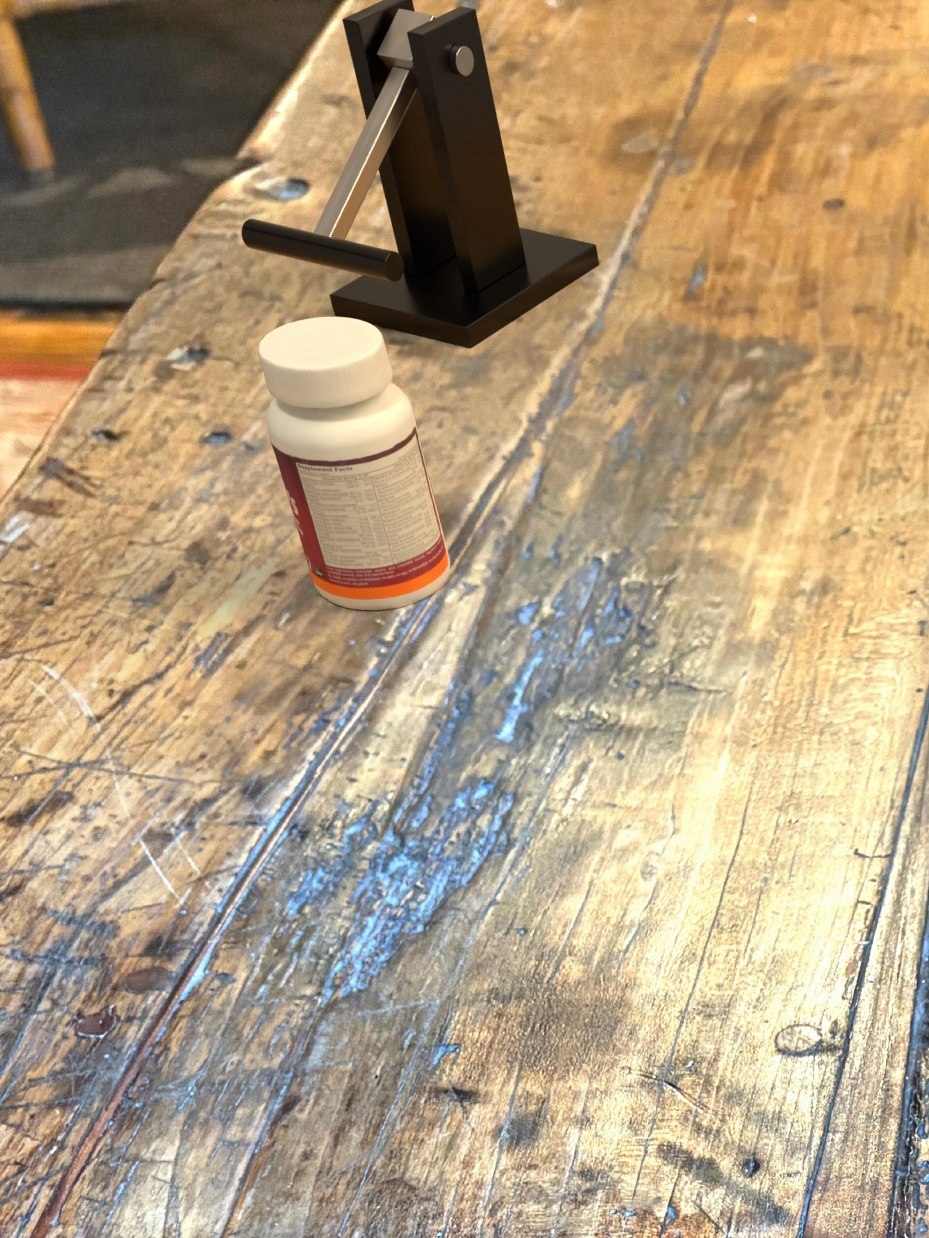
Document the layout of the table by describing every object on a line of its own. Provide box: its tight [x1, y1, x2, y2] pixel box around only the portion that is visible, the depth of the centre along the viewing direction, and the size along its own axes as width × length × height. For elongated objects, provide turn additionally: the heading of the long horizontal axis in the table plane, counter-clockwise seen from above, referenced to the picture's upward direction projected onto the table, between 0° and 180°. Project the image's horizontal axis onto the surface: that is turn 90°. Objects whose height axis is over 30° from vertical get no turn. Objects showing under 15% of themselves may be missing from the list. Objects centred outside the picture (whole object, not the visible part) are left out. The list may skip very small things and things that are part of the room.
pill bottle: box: [257, 316, 451, 611], centre depth 98 cm, size 6×6×11 cm
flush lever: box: [240, 9, 436, 282], centre depth 114 cm, size 14×9×2 cm
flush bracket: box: [329, 0, 600, 349], centre depth 118 cm, size 12×9×14 cm
